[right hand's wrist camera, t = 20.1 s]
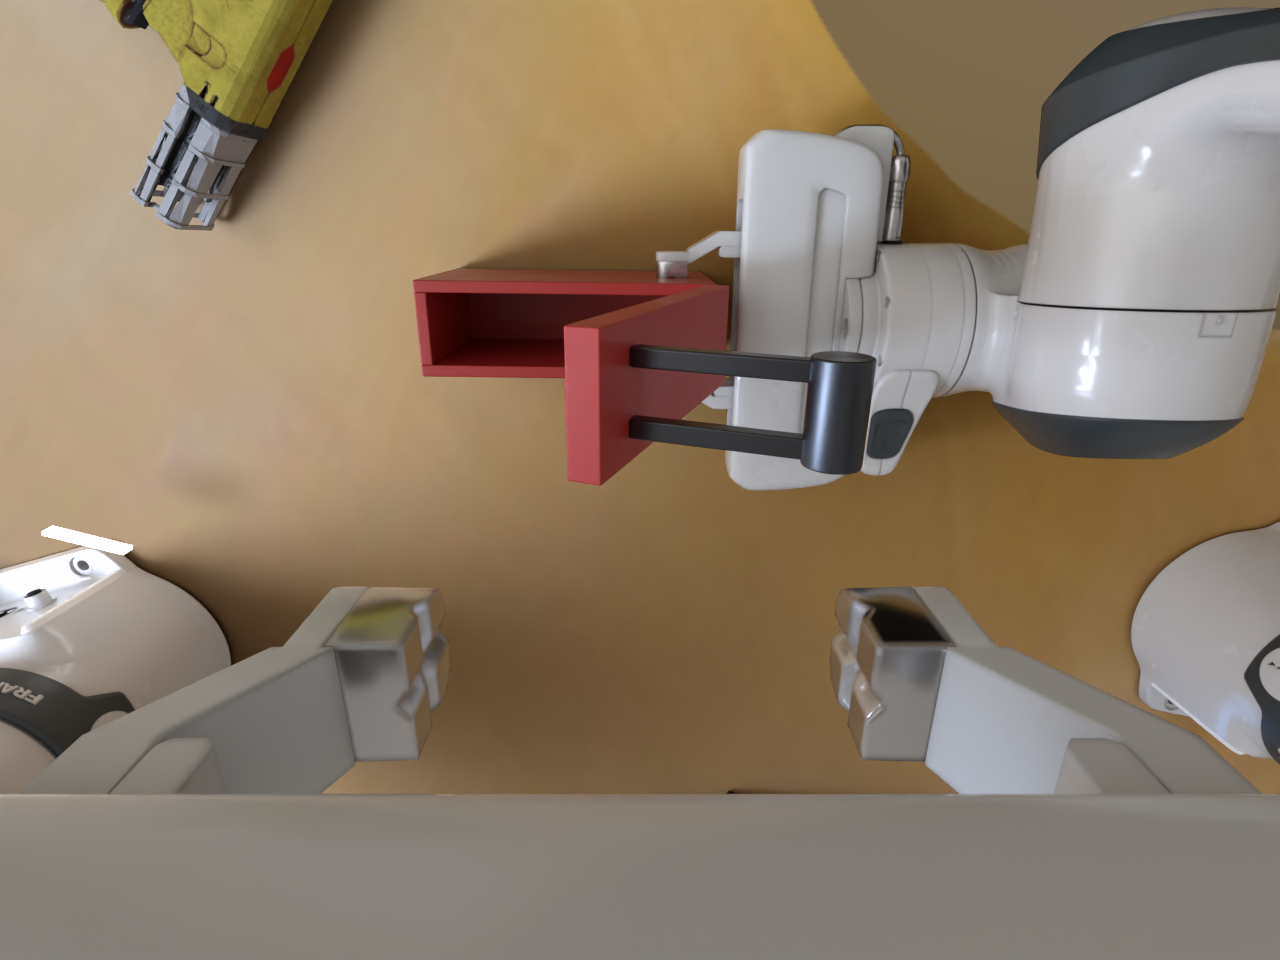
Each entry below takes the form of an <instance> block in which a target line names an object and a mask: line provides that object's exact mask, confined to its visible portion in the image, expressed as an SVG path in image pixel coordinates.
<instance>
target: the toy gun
mask: <svg viewBox="0 0 1280 960" xmlns="http://www.w3.org/2000/svg"><path fill="white" fill-rule="evenodd" d="M100 1H102V2H104V3H105V4H106V7H107V8H108V10H109V11H110V13H111V14H112V16H113V17H114V18H115V19H116V20H117V21H118V22H119V24H120V25H121V26H122V27H123V28H128V29H134V28H143V29H146V28H147V26H148V25H150V26H151V27H152V28H153V29H154V30H155V31H157V32H158V33H159V34H160V36H161V37H162V39H163V41H164V42H165V44H166V45H167V47H168V49H169V50H170V52H171V53H172V55H173V56H174V58H175V60H176V61H177V62H178V63H179V66H180V69H181V73H182V76H183V79H184V81H183V83H182V86H181V88H180V90H179V92H178V93H176V95H175V103H174V105H173V107H172V108H171V110H170V112H169V114H168V116H167V118H166V120H164V121H163V123H162V126H163V128H162V130H161V132H160V134H159V136H158V139H157V141H156V143H155V145H154V147H153V149H152V152H151V154H150V155H149V156H148V157H147V160H146V163H147V166H146V167H145V169H144V171H143V173H142V175H141V177H140V179H139V181H138V183H137V185H136V187H135V188H134V189H133V190H132V191H131V196H132V197H133V198H134V199H135V200H136V201H137V202H138V203H140V204H141V205H142V206H145V207H154V208H155V209H156V210H158V212H157V213H156V215H155V216H156V217H158V218H159V219H160V220H162V221H163V222H164V223H166V224H168V225H169V226H171V227H173V228H175V229H184V230H212V229H213V227H214V221H215V219H216V218H217V216H218V214H219V212H220V210H221V208H222V206H223V204H224V202H225V200H228V198H229V192H230V190H231V188H232V186H233V185H234V183H235V181H236V179H237V177H238V175H239V173H240V171H241V169H242V168H244V167H245V164H246V163H245V161H246V159H247V158H248V156H249V154H250V153H251V151H252V149H253V148H254V146H255V144H256V143H257V141H258V140H263V138H264V135H265V133H266V131H267V129H268V127H269V125H270V123H271V121H272V119H273V117H274V115H275V113H276V111H277V109H278V107H279V105H280V103H281V101H282V99H283V97H284V95H285V93H286V91H287V89H288V88H289V86H290V84H291V82H292V80H293V78H294V76H295V74H296V72H297V70H298V68H299V66H300V64H301V62H302V60H303V58H304V56H305V54H306V52H307V50H308V48H309V46H310V44H311V42H312V40H313V38H314V36H315V34H316V33H317V31H318V29H319V27H320V25H321V23H322V21H323V19H324V17H325V15H326V13H327V11H328V9H329V7H330V5H331V3H332V1H333V0H100ZM157 185H163V186H165V187H164V190H163V191H158V190H155V189H156V187H157ZM152 196H161V197H164V199H163V201H162V203H161V206H159V205H158V204H156V203H155V202H150V200H151V198H152ZM202 198H203V199H204V201H205V203H204V205H203V207H202V209H201V211H200V213H199V214H198V213H195V211H196V209H197V207H198V205H199V203H200V202H201V200H202ZM177 201H179V203H178V204H177V206H176V207H175V209H174V210H173V208H174V206H175V204H176V202H177ZM172 211H173V212H172ZM192 217H196V218H198V219H199V220H200V221H202V222H203V226H201V225H188V224H189V223H190V221H191V219H192Z"/></svg>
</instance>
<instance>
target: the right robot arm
mask: <svg viewBox="0 0 1280 960" xmlns="http://www.w3.org/2000/svg"><path fill="white" fill-rule="evenodd" d="M42 535H43V536H47V537H51V538H55V539H60V540H64V541H68V542H72V543H76V544H80V545H84V546H81V547H78V548H74V549H71V550H67V551H64V552H60V553H57V554H53V555H50V556H46V557H43V558H39V559H36V560H32V561H29V562H25V563H21V564H18V565H14V566H11V567H7V568H4V569H0V960H1280V794H1262V793H1261V792H1260V791H1258V790H1257V789H1256V788H1255V787H1254V786H1253V785H1252V784H1251V783H1250V782H1249V781H1248V780H1247V779H1245V778H1244V777H1243V776H1242V775H1241V774H1240V773H1239V772H1238V771H1237V770H1236V769H1235V768H1234V767H1232V766H1231V765H1230V764H1229V763H1228V762H1227V761H1226V760H1225V759H1224V758H1223V757H1222V756H1220V755H1219V754H1218V753H1217V752H1216V751H1215V750H1214V749H1213V748H1212V747H1211V746H1210V745H1209V744H1207V743H1206V742H1205V741H1204V740H1203V739H1202V738H1201V737H1200V736H1198V735H1196V734H1194V733H1192V732H1189V731H1187V730H1185V729H1183V728H1181V727H1179V726H1177V725H1174V724H1172V723H1170V722H1168V721H1166V720H1164V719H1162V718H1160V717H1157V716H1155V715H1153V714H1151V713H1149V712H1147V711H1145V710H1142V709H1140V708H1138V707H1136V706H1134V705H1132V704H1130V703H1127V702H1125V701H1123V700H1121V699H1119V698H1117V697H1115V696H1112V695H1110V694H1108V693H1106V692H1104V691H1102V690H1100V689H1097V688H1095V687H1093V686H1091V685H1089V684H1087V683H1085V682H1082V681H1080V680H1078V679H1076V678H1074V677H1072V676H1070V675H1067V674H1065V673H1063V672H1061V671H1059V670H1057V669H1055V668H1052V667H1050V666H1048V665H1046V664H1044V663H1042V662H1040V661H1038V660H1035V659H1033V658H1031V657H1029V656H1027V655H1025V654H1023V653H1020V652H1018V651H1016V650H1014V649H1012V648H1010V647H997V646H996V645H995V643H994V642H993V641H992V640H991V639H990V637H989V636H988V635H987V634H986V633H985V632H984V630H983V629H982V628H981V627H980V626H979V625H978V623H977V622H976V621H975V620H974V619H973V617H972V616H971V615H970V614H969V613H968V612H967V610H966V609H965V608H964V607H963V606H962V605H961V603H960V602H959V601H958V600H957V599H956V598H955V596H954V595H953V594H952V593H951V592H950V590H949V589H947V588H945V587H942V586H930V587H888V588H847V589H841V590H840V591H839V594H838V597H837V599H836V607H835V617H836V619H837V621H838V623H839V625H840V627H841V631H840V632H839V633H838V634H837V635H836V636H835V637H834V638H833V639H832V640H831V651H830V672H831V681H832V685H833V690H834V693H835V696H836V698H837V701H838V703H839V704H840V705H841V706H843V707H844V708H845V709H847V710H848V711H849V718H848V728H849V730H850V732H851V735H852V737H853V739H854V742H855V744H856V746H857V749H858V751H859V754H860V756H861V758H862V760H888V761H925V765H926V766H927V767H929V768H930V769H931V770H932V771H933V772H934V773H936V774H937V775H938V776H939V777H940V778H941V779H943V780H944V781H945V782H946V783H947V784H949V785H950V786H951V787H952V788H953V789H954V790H956V791H957V792H958V793H959V794H321V793H322V792H323V791H325V790H326V789H327V788H328V787H329V786H331V785H332V784H333V783H334V782H335V781H336V780H338V779H339V778H340V777H341V776H342V775H344V774H345V773H346V772H347V771H348V770H349V769H351V768H352V767H353V766H354V765H355V761H391V760H418V759H419V756H420V754H421V751H422V749H423V747H424V744H425V742H426V739H427V737H428V735H429V732H430V730H431V728H432V718H431V711H432V710H433V709H435V708H436V707H437V706H439V705H440V704H441V703H442V701H443V698H444V695H445V693H446V690H447V685H448V679H449V674H450V649H449V640H448V639H447V638H446V637H445V636H444V635H443V634H442V633H441V632H440V631H439V627H440V625H441V623H442V621H443V619H444V617H445V615H446V614H445V608H444V601H443V595H442V593H441V592H440V590H439V589H438V588H406V587H369V586H356V587H336V588H332V589H331V590H330V592H329V593H328V594H327V595H326V596H325V597H324V599H323V600H322V601H321V602H320V603H319V605H318V606H317V607H316V608H315V609H314V610H313V612H312V613H311V614H310V615H309V616H308V617H307V619H306V620H305V621H304V622H303V623H302V625H301V626H300V627H299V628H298V629H297V630H296V632H295V633H294V634H293V635H292V636H291V637H290V639H289V640H288V641H287V642H286V643H285V645H284V646H283V647H270V648H268V649H266V650H264V651H262V652H260V653H257V654H255V655H253V656H251V657H249V658H247V659H245V660H242V661H240V662H238V663H236V664H234V665H232V666H231V657H230V651H229V647H228V644H227V641H226V639H225V636H224V634H223V632H222V630H221V629H220V627H219V625H218V624H217V622H216V621H215V619H214V618H213V617H212V615H211V614H210V613H209V612H208V611H207V610H206V609H205V608H204V607H203V606H202V605H201V604H200V603H199V602H198V601H197V600H196V599H195V598H193V597H192V596H191V595H190V594H188V593H187V592H185V591H184V590H182V589H181V588H179V587H177V586H176V585H174V584H172V583H170V582H168V581H166V580H164V579H162V578H159V577H157V576H155V575H152V574H150V573H148V572H146V571H144V570H142V569H140V568H138V567H137V566H136V565H135V564H134V563H132V562H131V561H130V560H129V559H128V558H127V557H125V556H124V554H126V553H128V552H129V551H131V550H132V549H133V545H129V544H125V543H121V542H117V541H113V540H108V539H104V538H100V537H96V536H92V535H88V534H84V533H80V532H76V531H72V530H68V529H64V528H60V527H56V526H51V527H49V528H47V529H45V530H43V531H42ZM85 561H86V562H87V563H88V564H87V563H86V562H85Z"/></svg>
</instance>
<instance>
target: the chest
mask: <svg viewBox="0 0 1280 960" xmlns="http://www.w3.org/2000/svg"><path fill="white" fill-rule="evenodd" d="M704 285H716V284H715V283H714V282H713V281H712V280H710V279H709V278H708V277H707V276H706V275H704V274H703V273H702V271H688V275H687V279H685V278H674V277H672V276H671V277H670V278H656V270H594V269H517V268H457V269H455V270H451V271H447V272H443V273H439V274H435V275H431V276H427V277H423V278H419V279H416V280H413V287H414V292H415V293H414V297H415V307H416V316H417V326H418V336H419V345H420V355H421V364H422V375H423V376H435V377H516V378H565V354H564V326H565V325H568V324H571V323H575V322H578V321H582V320H585V319H589V318H592V317H596V316H599V315H603V314H606V313H610V312H613V311H617V310H620V309H624V308H627V307H631V306H634V305H638V304H641V303H645V302H648V301H652V300H655V299H659V298H662V297H666V296H669V295H673V294H676V293H680V292H683V291H687V290H690V289H694V288H697V287H701V286H704Z"/></svg>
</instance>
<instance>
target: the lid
mask: <svg viewBox="0 0 1280 960" xmlns="http://www.w3.org/2000/svg"><path fill="white" fill-rule="evenodd" d="M728 303H729V286H727V285H704V286H701V287H697V288H694V289H690V290H687V291H683V292H680V293H676V294H673V295H669V296H666V297H662V298H659V299H655V300H652V301H648V302H645V303H641V304H638V305H634V306H631V307H627V308H624V309H620V310H617V311H613V312H610V313H606V314H603V315H599V316H596V317H592V318H589V319H585V320H582V321H578V322H575V323H571V324H568V325H565V326H564V354H565V391H566V428H567V464H568V480H569V481H573V482H580V483H586V484H593V485H602V484H603V483H605V482H606V481H607V480H608V479H609V478H611V477H612V476H613V475H614V474H615V473H617V472H618V471H619V470H620V469H621V468H623V467H624V466H625V465H626V464H628V463H629V462H630V461H631V460H632V459H634V458H635V457H636V456H637V455H638V454H640V453H641V452H642V451H643V450H644V449H646V448H647V447H648V446H649V445H650V444H652V443H653V442H654V441H655V442H663V443H671V444H679V445H687V446H695V447H703V448H711V449H719V450H727V451H735V452H743V453H751V454H759V455H767V456H775V457H783V458H791V459H799V460H800V463H801V464H802V466H804V467H805V468H807V469H809V470H812V471H815V472H819V473H824V474H832V475H845V474H853V473H856V472H858V471H860V470H861V468H862V466H863V458H864V451H865V444H866V436H867V429H868V422H869V415H870V407H871V400H872V393H873V385H874V378H875V371H876V364H877V360H876V358H875V357H873V356H870V355H867V354H862V353H856V352H846V351H823V352H817V353H814V354H812V355H811V357H802V356H789V355H776V354H763V353H750V352H736V351H726V338H727V321H728ZM724 376H736V377H747V378H758V379H770V380H781V381H792V382H803V383H808V386H807V396H806V406H805V416H804V426H803V434H801V433H792V432H783V431H774V430H765V429H757V428H748V427H739V426H730V425H721V424H712V423H703V422H695V421H686V420H681V419H682V418H683V417H684V416H685V415H687V414H688V413H689V412H690V411H691V410H693V409H694V408H695V407H696V406H697V405H699V404H700V403H701V402H702V401H703V400H705V399H706V398H707V397H708V396H709V395H711V394H712V393H713V392H714V391H715V390H717V389H718V388H719V387H720V386H721V385H723V384H724Z"/></svg>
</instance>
